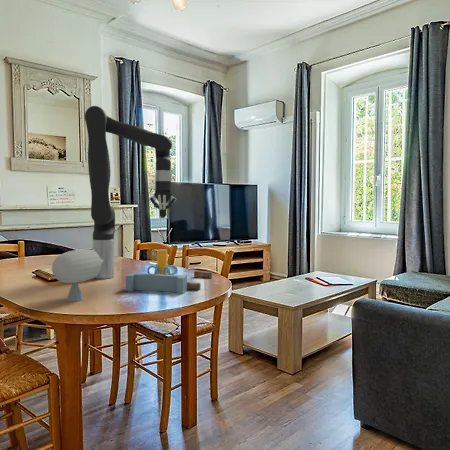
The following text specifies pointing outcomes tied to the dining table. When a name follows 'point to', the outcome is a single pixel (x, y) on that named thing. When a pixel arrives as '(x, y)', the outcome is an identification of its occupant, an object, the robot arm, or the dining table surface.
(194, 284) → the roller
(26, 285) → the dining table surface
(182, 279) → the stop rail
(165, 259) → the yellow block with rings
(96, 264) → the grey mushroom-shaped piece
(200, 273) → the roller
